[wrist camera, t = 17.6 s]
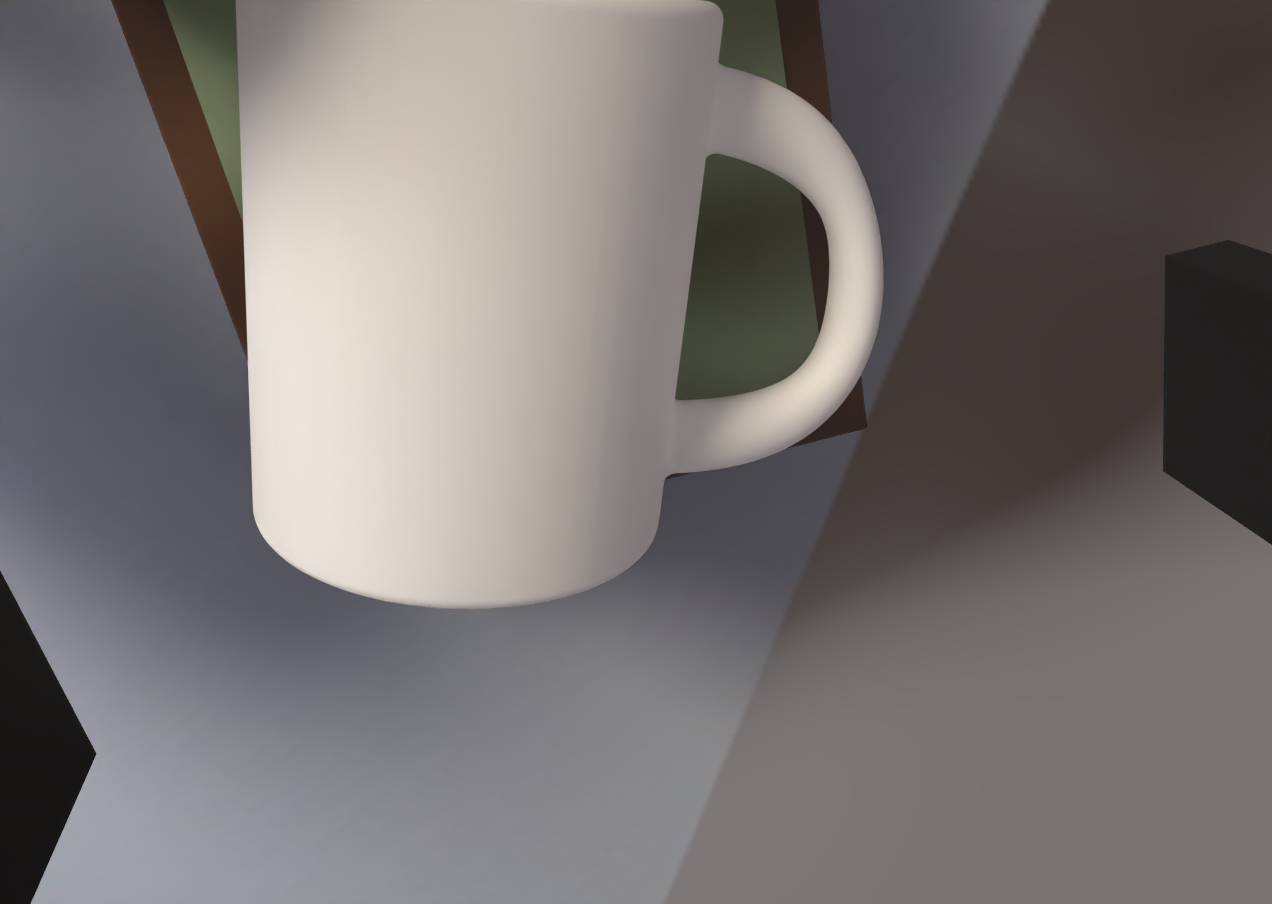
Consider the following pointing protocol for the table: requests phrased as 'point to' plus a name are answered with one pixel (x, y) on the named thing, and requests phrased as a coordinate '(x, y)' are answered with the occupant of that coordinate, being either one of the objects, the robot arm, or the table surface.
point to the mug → (505, 283)
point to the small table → (728, 214)
